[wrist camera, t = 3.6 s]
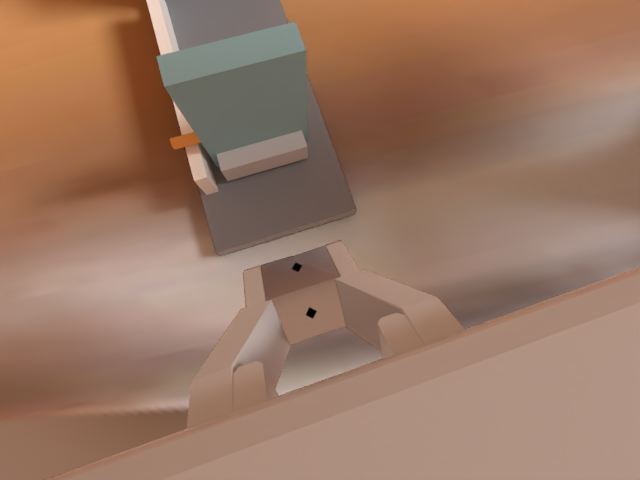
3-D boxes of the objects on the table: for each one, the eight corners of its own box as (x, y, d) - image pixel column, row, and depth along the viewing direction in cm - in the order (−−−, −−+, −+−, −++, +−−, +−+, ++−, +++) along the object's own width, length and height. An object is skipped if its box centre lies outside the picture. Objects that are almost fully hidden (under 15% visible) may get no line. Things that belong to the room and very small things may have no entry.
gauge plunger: (295, 106, 28) (287, 0, 19) (313, 156, 28) (314, 72, 18) (181, 138, 28) (110, 43, 18) (195, 190, 27) (128, 121, 17)
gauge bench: (260, -45, 34) (234, -218, 23) (353, 214, 28) (381, 152, 17) (147, -19, 33) (63, -187, 22) (220, 256, 27) (157, 218, 16)
